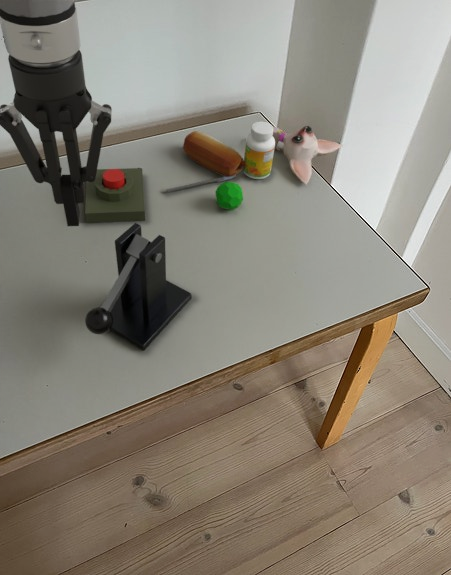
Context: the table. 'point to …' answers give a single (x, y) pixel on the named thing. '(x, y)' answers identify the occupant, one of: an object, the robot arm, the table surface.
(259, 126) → the supplement bottle
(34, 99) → the robot arm
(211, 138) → the hot dog
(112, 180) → the button
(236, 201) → the polyhedron
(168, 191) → the pen
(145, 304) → the switch bracket
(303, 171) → the toy dog
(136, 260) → the lever
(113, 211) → the control box
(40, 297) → the table surface
